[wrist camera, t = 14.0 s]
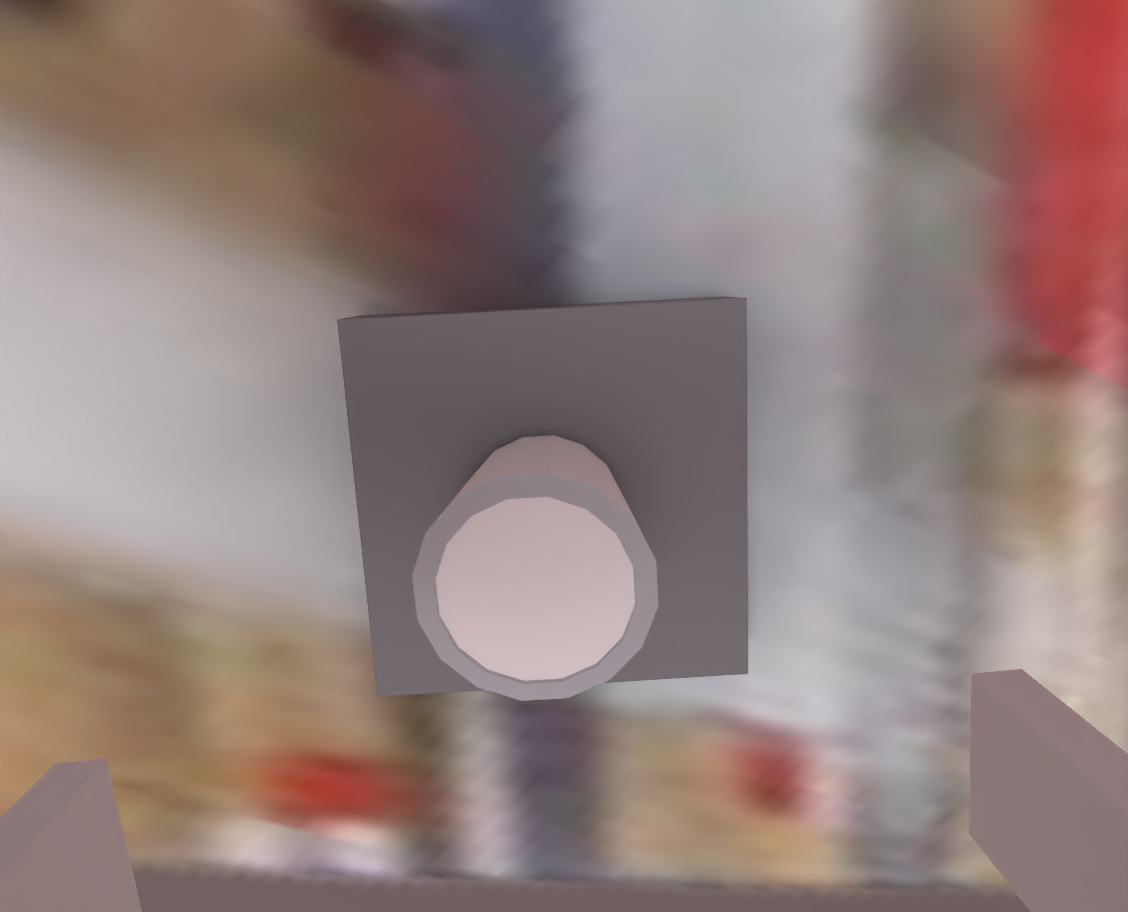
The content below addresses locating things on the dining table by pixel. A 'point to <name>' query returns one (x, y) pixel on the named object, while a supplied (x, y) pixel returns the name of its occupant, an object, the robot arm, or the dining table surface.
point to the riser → (574, 412)
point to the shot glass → (536, 574)
